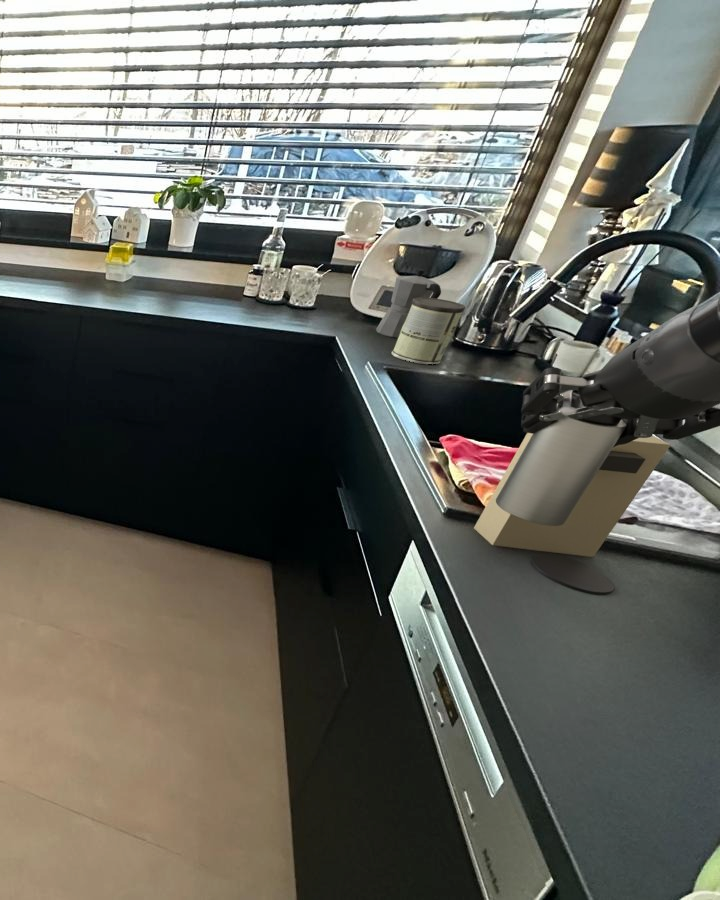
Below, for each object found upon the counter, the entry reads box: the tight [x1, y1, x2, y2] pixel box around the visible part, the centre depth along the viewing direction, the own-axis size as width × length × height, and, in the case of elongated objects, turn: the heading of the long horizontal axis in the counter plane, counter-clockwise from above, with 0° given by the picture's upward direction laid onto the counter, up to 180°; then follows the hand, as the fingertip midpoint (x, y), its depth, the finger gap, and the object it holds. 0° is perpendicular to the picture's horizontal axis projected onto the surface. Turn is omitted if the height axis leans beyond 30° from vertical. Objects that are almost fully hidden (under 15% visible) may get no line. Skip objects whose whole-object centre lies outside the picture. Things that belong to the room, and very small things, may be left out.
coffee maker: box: [473, 433, 672, 596], centre depth 76 cm, size 12×13×18 cm
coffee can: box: [391, 297, 466, 366], centre depth 153 cm, size 10×10×14 cm
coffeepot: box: [375, 268, 442, 339], centre depth 170 cm, size 15×9×18 cm, turn 1°
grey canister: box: [496, 401, 627, 526], centre depth 67 cm, size 6×6×13 cm
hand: (566, 431), depth 67 cm, fingers closed on grey canister, 6 cm apart
